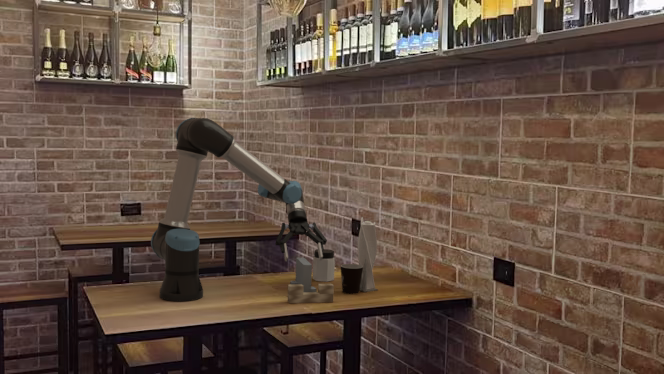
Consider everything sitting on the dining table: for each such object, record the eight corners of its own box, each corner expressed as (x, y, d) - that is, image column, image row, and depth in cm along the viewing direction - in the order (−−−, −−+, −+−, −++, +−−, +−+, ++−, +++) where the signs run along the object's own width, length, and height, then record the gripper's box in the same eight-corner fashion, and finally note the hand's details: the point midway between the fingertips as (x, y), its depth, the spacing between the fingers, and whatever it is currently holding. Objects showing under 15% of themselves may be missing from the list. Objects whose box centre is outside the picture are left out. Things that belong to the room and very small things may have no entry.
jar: (322, 276, 270) (323, 248, 269) (337, 279, 265) (338, 250, 264) (308, 279, 263) (309, 250, 262) (323, 282, 258) (324, 253, 257)
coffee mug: (360, 295, 240) (361, 269, 239) (337, 293, 242) (338, 267, 241) (364, 288, 251) (365, 263, 250) (343, 286, 253) (344, 261, 252)
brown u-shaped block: (289, 303, 225) (289, 286, 225) (287, 301, 228) (288, 284, 228) (333, 302, 229) (333, 285, 229) (331, 299, 232) (331, 283, 232)
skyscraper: (350, 287, 252) (352, 216, 249) (365, 285, 257) (368, 215, 254) (364, 292, 245) (367, 219, 243) (379, 289, 250) (382, 218, 248)
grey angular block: (290, 288, 247) (291, 257, 246) (307, 288, 249) (308, 257, 248) (297, 297, 234) (298, 265, 233) (316, 297, 235) (317, 264, 234)
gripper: (324, 220, 265) (333, 263, 252) (264, 220, 258) (270, 265, 245) (328, 209, 260) (337, 252, 246) (267, 209, 253) (273, 254, 240)
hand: (304, 259), depth 246 cm, fingers open, 13 cm apart
